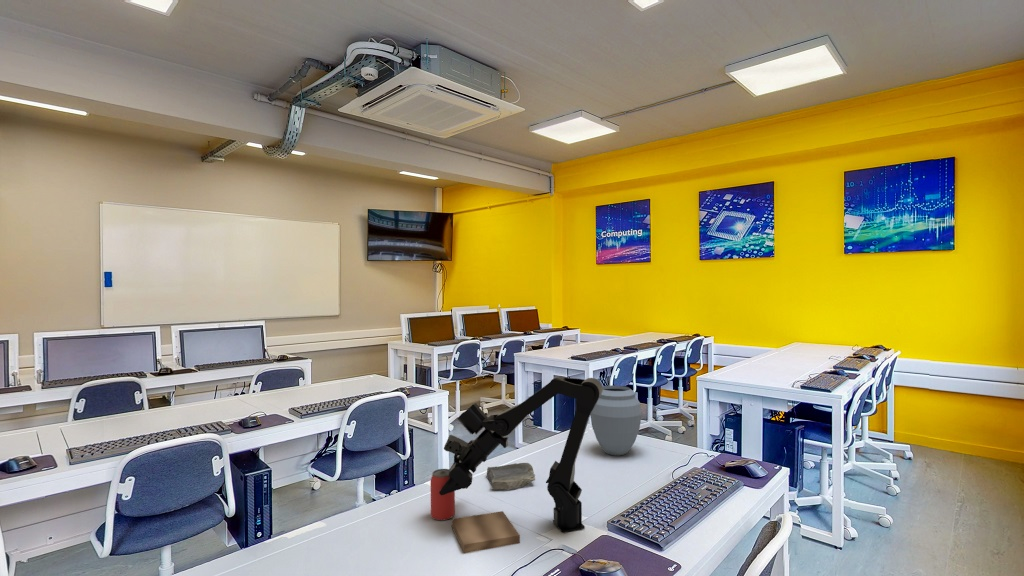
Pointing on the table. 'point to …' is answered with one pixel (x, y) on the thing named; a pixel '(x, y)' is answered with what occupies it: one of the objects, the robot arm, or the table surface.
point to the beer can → (441, 496)
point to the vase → (616, 419)
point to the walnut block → (484, 531)
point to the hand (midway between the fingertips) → (442, 487)
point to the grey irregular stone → (510, 476)
